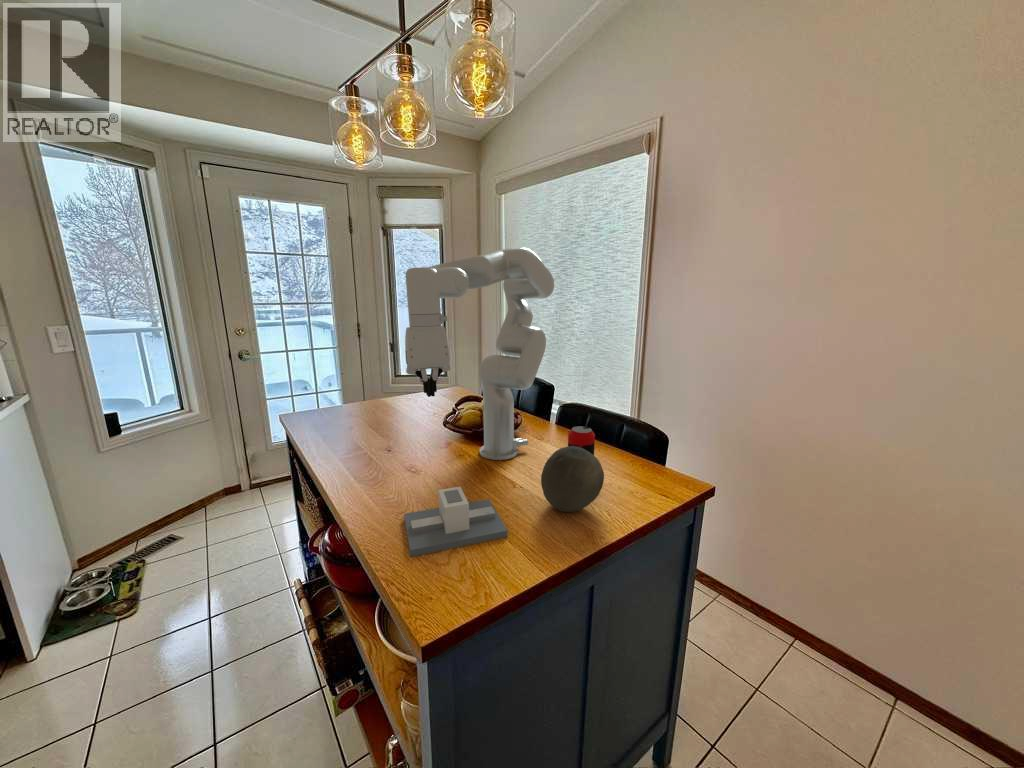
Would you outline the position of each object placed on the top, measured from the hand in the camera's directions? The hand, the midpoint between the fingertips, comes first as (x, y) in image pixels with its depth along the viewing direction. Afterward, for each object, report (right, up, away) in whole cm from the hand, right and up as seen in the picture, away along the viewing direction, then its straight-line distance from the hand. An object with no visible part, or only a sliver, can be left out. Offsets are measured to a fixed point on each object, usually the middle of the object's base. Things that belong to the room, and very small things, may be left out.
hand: (430, 395), depth 100 cm
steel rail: (+8, -27, -13) cm, 31 cm away
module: (+8, -27, -13) cm, 31 cm away
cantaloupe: (+34, -27, -4) cm, 44 cm away
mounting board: (+8, -29, -12) cm, 32 cm away
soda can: (+40, -22, +18) cm, 49 cm away
